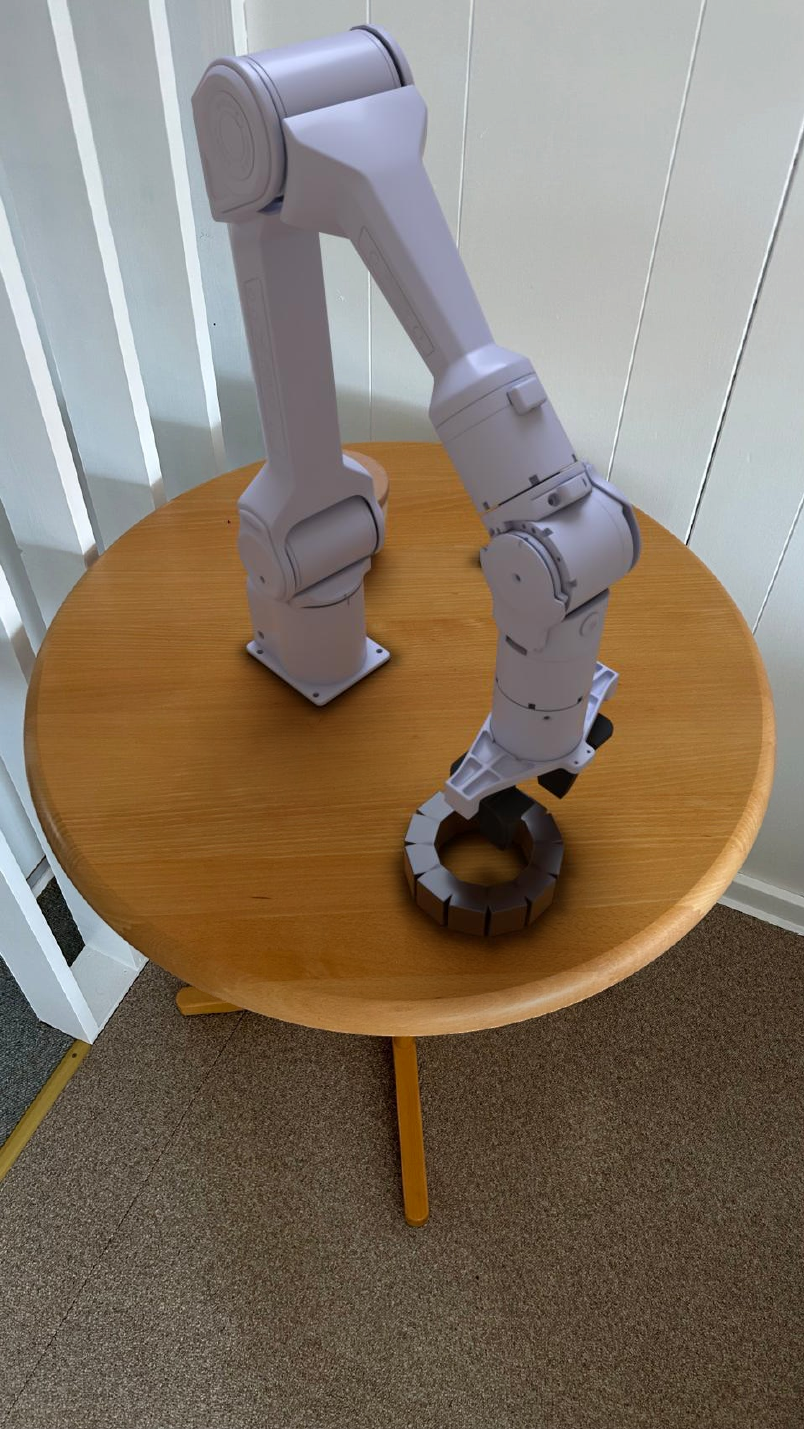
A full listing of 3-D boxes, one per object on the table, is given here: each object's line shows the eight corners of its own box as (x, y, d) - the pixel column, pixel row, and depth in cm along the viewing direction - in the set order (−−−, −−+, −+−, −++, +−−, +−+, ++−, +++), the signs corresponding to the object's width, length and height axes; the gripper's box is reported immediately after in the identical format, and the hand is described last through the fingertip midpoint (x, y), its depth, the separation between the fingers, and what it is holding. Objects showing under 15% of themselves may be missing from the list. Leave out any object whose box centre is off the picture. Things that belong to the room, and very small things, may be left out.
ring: (374, 868, 67) (373, 843, 64) (476, 783, 71) (478, 757, 69) (487, 966, 62) (490, 942, 59) (588, 867, 66) (594, 842, 64)
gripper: (514, 782, 51) (498, 915, 61) (672, 648, 58) (634, 786, 68) (419, 713, 55) (419, 849, 65) (579, 594, 62) (556, 733, 72)
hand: (524, 813), depth 67 cm, fingers open, 5 cm apart
